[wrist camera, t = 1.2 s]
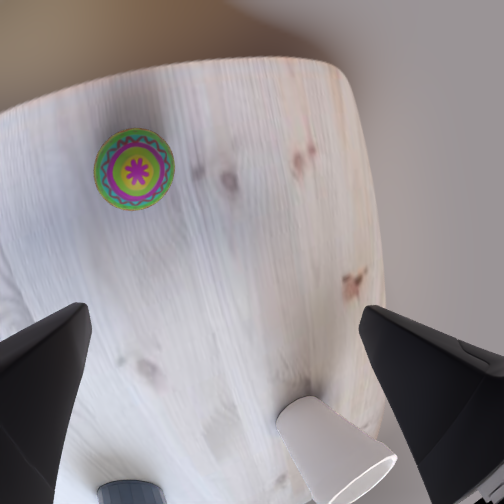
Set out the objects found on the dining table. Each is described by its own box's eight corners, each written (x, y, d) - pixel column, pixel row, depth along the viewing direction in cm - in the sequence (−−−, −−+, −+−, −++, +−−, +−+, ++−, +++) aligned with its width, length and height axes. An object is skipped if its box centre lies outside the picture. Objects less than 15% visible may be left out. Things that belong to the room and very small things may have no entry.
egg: (182, 165, 20) (206, 165, 14) (135, 219, 19) (141, 240, 14) (131, 118, 17) (136, 99, 12) (82, 174, 17) (67, 177, 12)
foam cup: (323, 372, 32) (400, 441, 21) (334, 410, 36) (395, 469, 25) (253, 417, 30) (316, 504, 18) (275, 448, 33) (328, 518, 22)
